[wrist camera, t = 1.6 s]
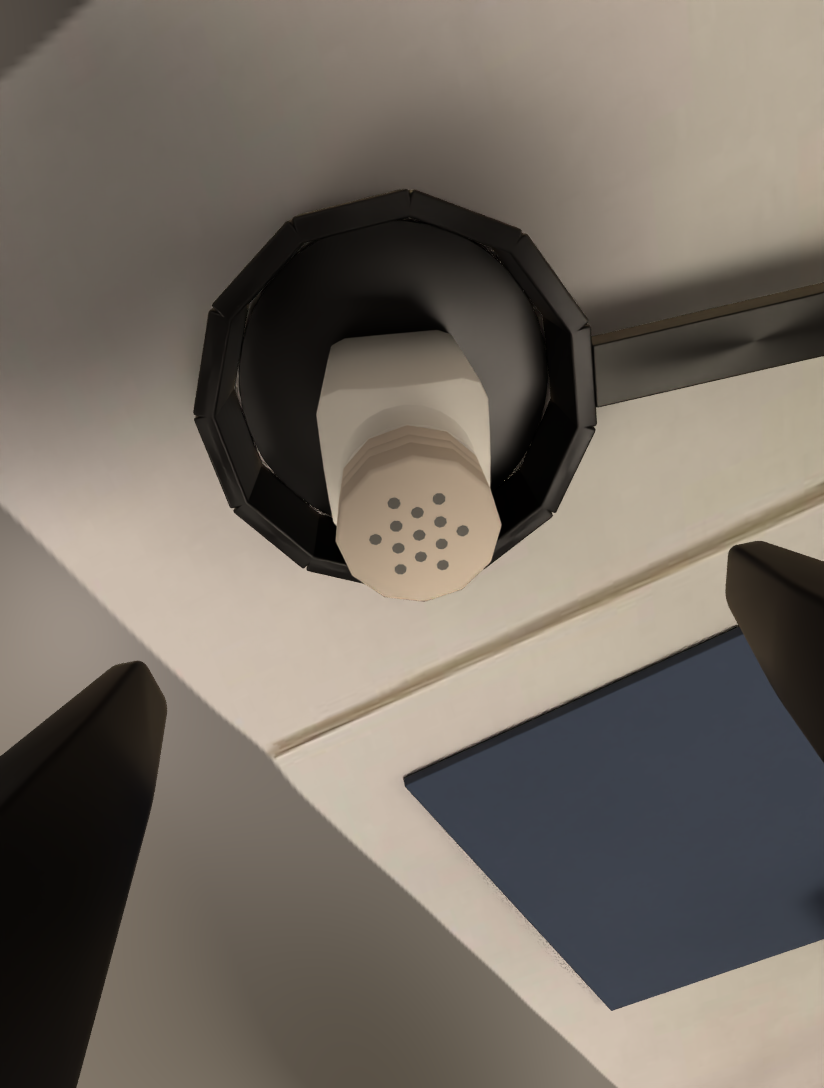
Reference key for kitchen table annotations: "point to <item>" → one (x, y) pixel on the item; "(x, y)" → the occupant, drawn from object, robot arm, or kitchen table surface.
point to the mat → (650, 823)
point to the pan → (482, 335)
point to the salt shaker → (408, 463)
